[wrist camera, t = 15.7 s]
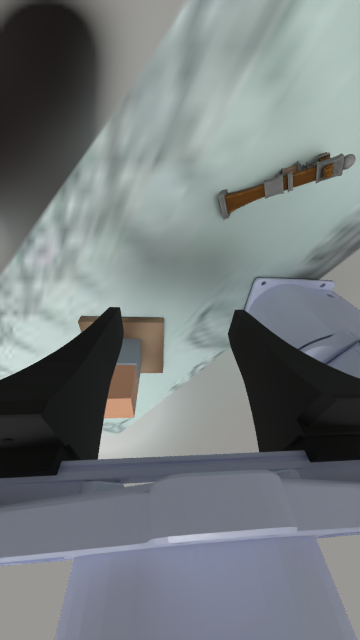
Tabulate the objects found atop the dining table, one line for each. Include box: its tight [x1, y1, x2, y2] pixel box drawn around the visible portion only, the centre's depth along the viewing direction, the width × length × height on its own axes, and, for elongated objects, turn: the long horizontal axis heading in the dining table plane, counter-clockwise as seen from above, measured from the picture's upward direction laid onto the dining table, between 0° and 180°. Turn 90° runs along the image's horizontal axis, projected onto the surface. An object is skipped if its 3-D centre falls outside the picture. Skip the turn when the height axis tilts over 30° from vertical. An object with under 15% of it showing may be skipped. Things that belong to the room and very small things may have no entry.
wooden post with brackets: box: [218, 152, 356, 220], centre depth 14 cm, size 2×8×5 cm, turn 112°
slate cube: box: [116, 338, 142, 384], centre depth 24 cm, size 4×4×4 cm
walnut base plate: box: [78, 316, 163, 373], centre depth 26 cm, size 10×10×1 cm
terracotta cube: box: [104, 365, 138, 418], centre depth 21 cm, size 4×4×4 cm
